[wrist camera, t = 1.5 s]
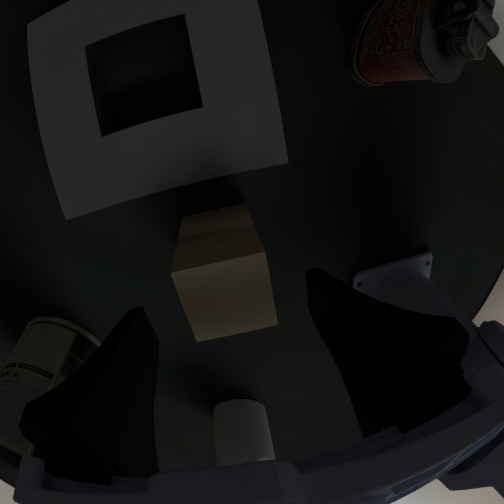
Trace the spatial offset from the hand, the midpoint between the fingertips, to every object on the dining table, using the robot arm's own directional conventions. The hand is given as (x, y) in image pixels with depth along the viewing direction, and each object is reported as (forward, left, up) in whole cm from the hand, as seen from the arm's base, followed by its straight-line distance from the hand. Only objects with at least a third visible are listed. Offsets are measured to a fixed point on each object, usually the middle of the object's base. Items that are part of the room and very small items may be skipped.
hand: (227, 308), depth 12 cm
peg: (0, 0, -8) cm, 8 cm away
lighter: (+12, -13, -8) cm, 19 cm away
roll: (-20, +3, -8) cm, 22 cm away
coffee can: (-8, +17, -8) cm, 20 cm away
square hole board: (+11, +2, -8) cm, 13 cm away
